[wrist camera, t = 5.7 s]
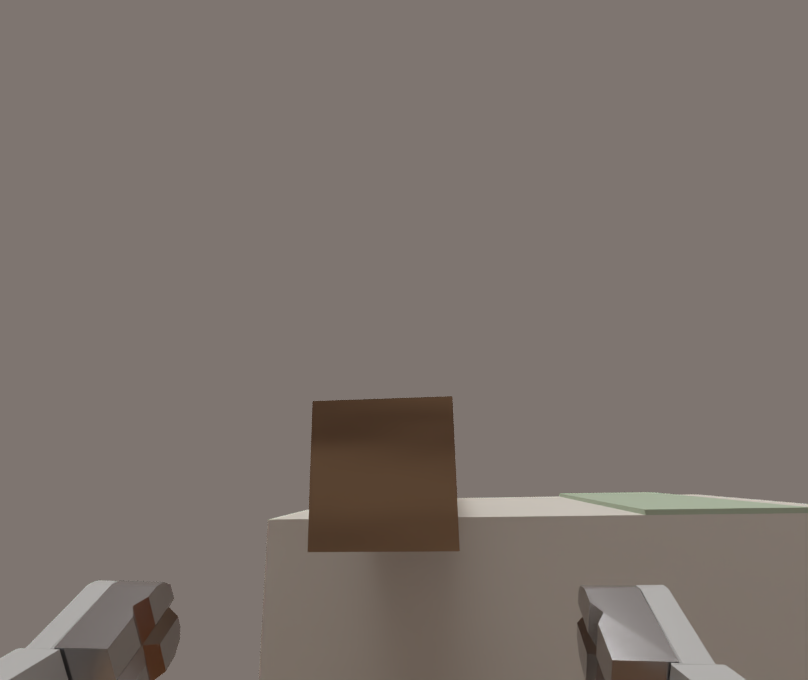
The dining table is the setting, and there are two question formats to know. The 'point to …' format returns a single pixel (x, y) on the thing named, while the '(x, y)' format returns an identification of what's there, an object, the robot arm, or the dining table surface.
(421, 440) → the rail
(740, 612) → the box
